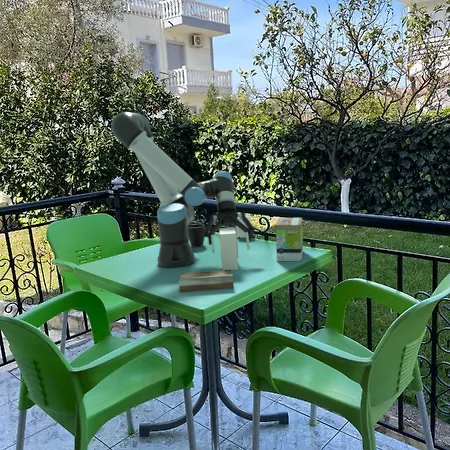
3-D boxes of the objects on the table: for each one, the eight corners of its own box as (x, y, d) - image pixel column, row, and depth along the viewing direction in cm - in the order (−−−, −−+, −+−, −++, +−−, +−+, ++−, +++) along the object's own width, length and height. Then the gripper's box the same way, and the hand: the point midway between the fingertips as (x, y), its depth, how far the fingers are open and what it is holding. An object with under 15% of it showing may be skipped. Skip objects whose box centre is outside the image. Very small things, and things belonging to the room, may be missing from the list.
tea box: (302, 261, 172) (301, 224, 169) (276, 261, 174) (274, 224, 171) (303, 251, 187) (302, 216, 184) (279, 251, 189) (278, 217, 186)
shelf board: (181, 278, 162) (180, 266, 161) (231, 274, 162) (230, 263, 161) (179, 292, 148) (178, 279, 147) (233, 288, 148) (232, 275, 147)
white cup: (246, 233, 225) (245, 214, 223) (254, 236, 218) (253, 216, 216) (233, 236, 221) (231, 216, 219) (241, 239, 215) (239, 218, 213)
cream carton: (222, 270, 168) (220, 234, 165) (221, 262, 179) (219, 228, 176) (239, 269, 168) (236, 233, 165) (237, 261, 179) (235, 227, 176)
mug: (208, 241, 215) (206, 221, 213) (204, 247, 203) (203, 227, 201) (191, 241, 216) (189, 222, 214) (187, 248, 204) (185, 228, 202)
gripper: (255, 207, 186) (262, 251, 175) (196, 212, 185) (199, 257, 174) (256, 196, 180) (263, 242, 168) (195, 201, 179) (198, 247, 167)
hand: (231, 249), depth 171 cm, fingers open, 13 cm apart
